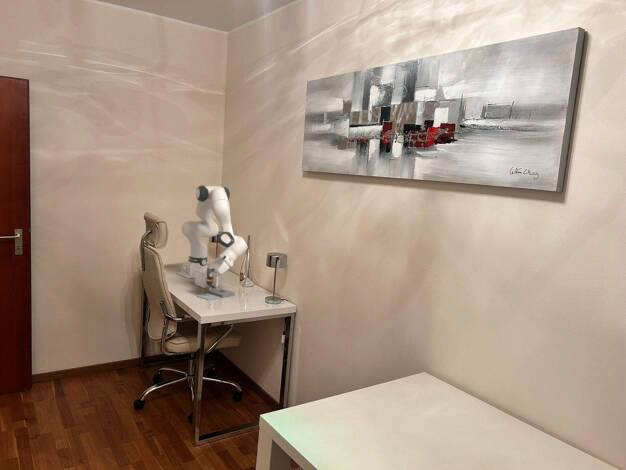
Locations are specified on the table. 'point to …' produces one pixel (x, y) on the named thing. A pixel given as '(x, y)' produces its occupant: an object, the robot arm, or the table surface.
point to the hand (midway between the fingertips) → (208, 275)
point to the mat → (208, 296)
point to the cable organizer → (204, 278)
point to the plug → (209, 279)
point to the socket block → (220, 292)
